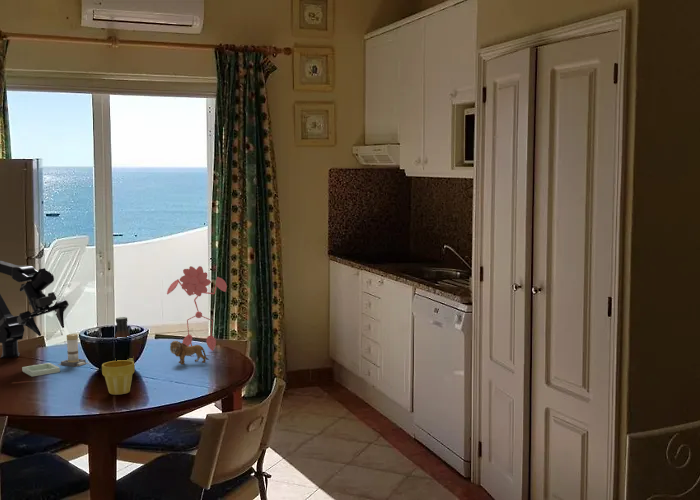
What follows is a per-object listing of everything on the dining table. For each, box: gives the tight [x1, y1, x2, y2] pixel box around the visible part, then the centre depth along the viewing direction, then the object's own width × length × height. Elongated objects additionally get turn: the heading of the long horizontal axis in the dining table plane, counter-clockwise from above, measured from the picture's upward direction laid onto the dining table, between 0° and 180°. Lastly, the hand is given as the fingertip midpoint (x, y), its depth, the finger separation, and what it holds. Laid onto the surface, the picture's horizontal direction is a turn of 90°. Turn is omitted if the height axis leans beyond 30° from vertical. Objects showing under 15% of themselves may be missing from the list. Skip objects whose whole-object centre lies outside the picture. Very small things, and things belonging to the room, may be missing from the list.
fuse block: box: [57, 358, 89, 368], centre depth 305 cm, size 9×7×2 cm
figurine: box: [166, 265, 228, 357], centre depth 324 cm, size 15×26×35 cm, turn 80°
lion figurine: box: [169, 340, 210, 365], centre depth 307 cm, size 15×5×9 cm, turn 113°
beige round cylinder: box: [66, 333, 80, 363], centre depth 304 cm, size 4×4×11 cm
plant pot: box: [101, 360, 136, 396], centre depth 267 cm, size 10×10×10 cm
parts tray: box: [21, 362, 61, 377], centre depth 293 cm, size 10×10×2 cm
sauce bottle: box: [113, 316, 135, 363], centre depth 294 cm, size 7×6×20 cm
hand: (52, 331), depth 307 cm, fingers open, 9 cm apart
